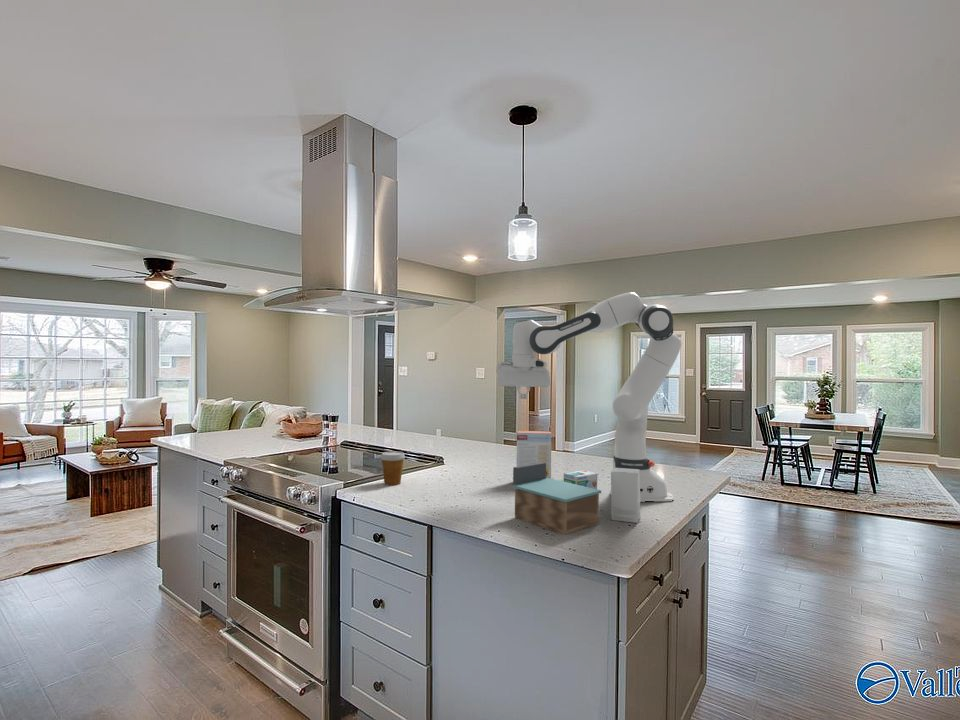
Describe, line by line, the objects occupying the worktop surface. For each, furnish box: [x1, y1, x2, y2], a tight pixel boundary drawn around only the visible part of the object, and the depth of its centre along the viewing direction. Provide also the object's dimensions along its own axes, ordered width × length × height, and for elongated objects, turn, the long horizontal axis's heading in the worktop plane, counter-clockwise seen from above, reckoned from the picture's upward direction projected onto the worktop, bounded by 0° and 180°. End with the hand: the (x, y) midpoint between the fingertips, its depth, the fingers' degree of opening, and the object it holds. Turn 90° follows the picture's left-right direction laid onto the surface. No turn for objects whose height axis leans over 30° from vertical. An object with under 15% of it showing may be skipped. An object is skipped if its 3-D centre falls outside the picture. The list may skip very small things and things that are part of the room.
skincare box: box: [610, 468, 641, 524], centre depth 159 cm, size 8×7×16 cm
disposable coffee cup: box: [380, 450, 406, 486], centre depth 200 cm, size 10×10×12 cm
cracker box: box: [516, 430, 552, 479], centre depth 206 cm, size 14×6×21 cm, turn 84°
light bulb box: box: [563, 469, 598, 490], centre depth 176 cm, size 11×7×11 cm, turn 126°
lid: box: [512, 462, 602, 502], centre depth 157 cm, size 22×17×6 cm
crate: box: [514, 488, 600, 535], centre depth 156 cm, size 20×16×9 cm
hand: (523, 398), depth 193 cm, fingers closed
